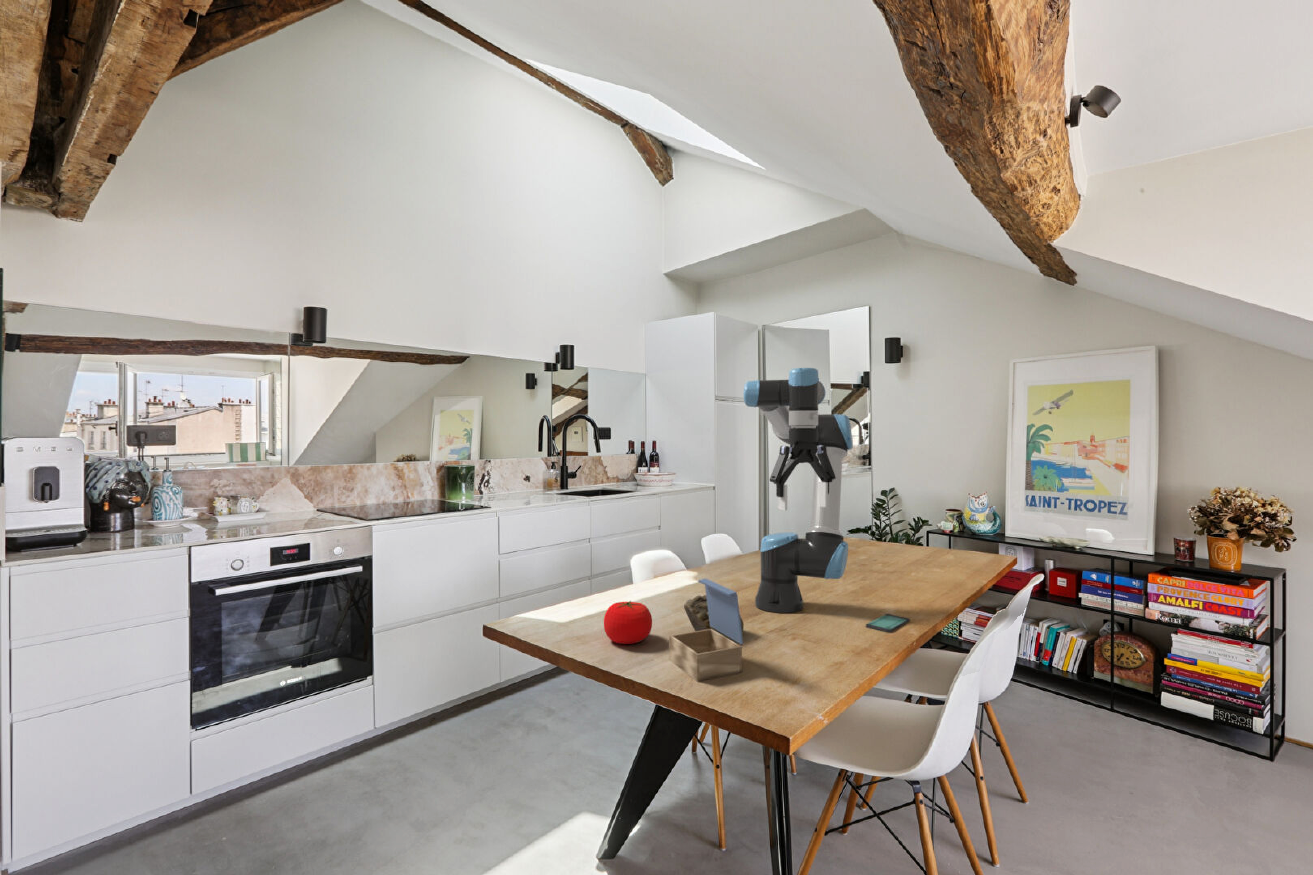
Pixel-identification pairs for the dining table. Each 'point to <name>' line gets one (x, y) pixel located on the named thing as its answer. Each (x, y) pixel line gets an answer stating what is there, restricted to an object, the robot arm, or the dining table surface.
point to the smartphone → (887, 623)
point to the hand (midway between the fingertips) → (803, 508)
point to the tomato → (627, 622)
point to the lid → (723, 610)
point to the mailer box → (705, 654)
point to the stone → (701, 614)
